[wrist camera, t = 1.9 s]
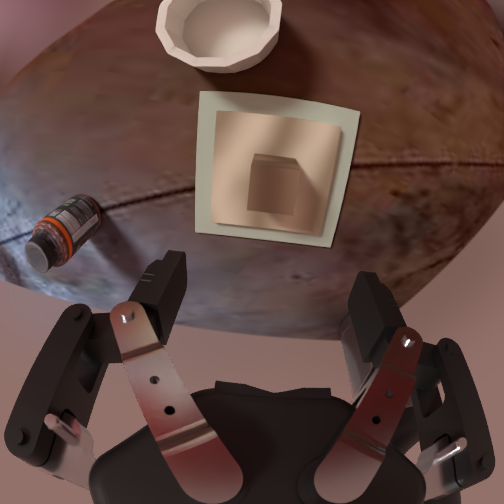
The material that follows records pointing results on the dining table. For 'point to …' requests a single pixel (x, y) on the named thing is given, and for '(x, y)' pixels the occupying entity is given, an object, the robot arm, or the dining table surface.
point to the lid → (272, 171)
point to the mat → (280, 107)
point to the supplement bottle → (62, 233)
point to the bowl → (219, 32)
